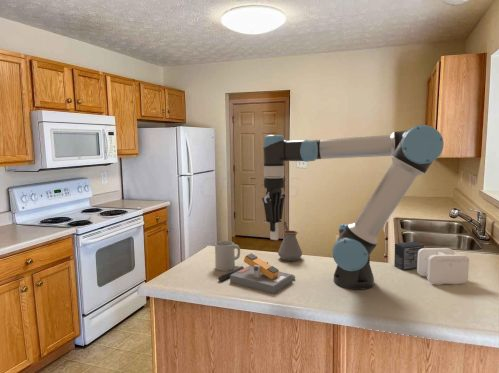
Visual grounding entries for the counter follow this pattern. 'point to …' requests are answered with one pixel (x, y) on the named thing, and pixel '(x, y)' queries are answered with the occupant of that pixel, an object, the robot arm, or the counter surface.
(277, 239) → the robot arm
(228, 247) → the mug
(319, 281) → the counter surface
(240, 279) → the panel
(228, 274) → the black rounded bar
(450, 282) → the cable organizer
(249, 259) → the lever
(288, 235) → the coffee pot
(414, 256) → the small box
